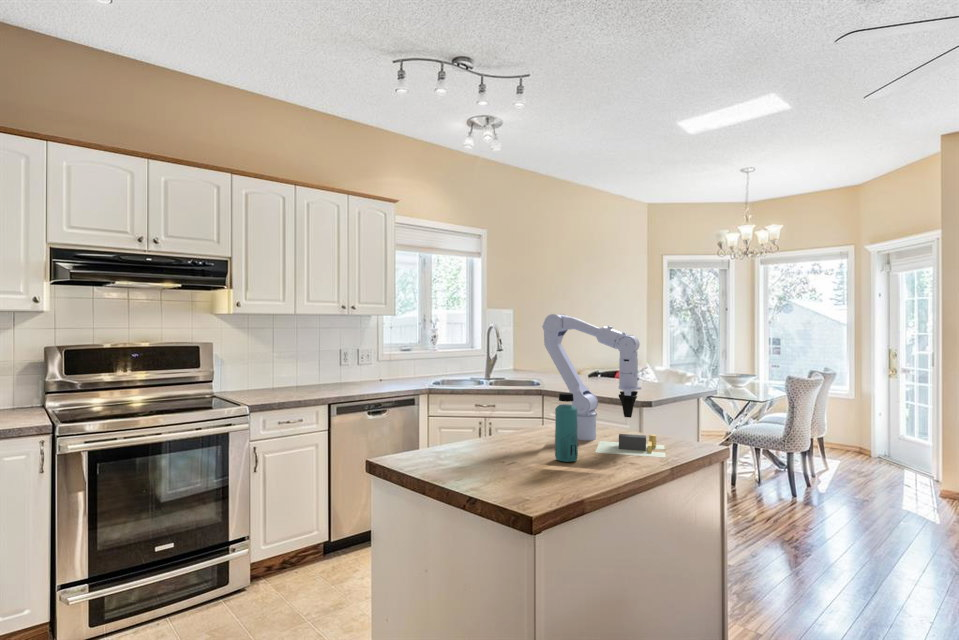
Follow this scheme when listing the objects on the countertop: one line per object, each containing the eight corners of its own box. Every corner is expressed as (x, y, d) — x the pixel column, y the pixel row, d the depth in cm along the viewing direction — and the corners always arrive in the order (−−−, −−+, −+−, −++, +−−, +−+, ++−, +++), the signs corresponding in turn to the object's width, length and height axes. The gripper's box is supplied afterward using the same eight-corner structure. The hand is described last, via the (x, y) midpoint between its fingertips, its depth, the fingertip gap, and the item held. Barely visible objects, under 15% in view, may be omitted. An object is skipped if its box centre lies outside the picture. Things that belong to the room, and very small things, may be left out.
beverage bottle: (571, 468, 152) (571, 395, 152) (550, 464, 156) (550, 393, 156) (582, 463, 157) (582, 392, 157) (561, 459, 161) (561, 390, 161)
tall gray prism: (618, 449, 170) (618, 436, 170) (619, 446, 173) (619, 433, 173) (645, 451, 168) (646, 437, 168) (645, 448, 171) (645, 435, 171)
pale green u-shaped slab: (595, 455, 166) (595, 440, 166) (599, 443, 181) (599, 430, 181) (665, 460, 160) (665, 445, 160) (664, 448, 175) (664, 434, 175)
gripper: (641, 375, 170) (640, 419, 170) (641, 371, 184) (641, 412, 184) (617, 374, 172) (617, 418, 172) (619, 370, 186) (619, 410, 186)
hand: (628, 415), depth 178 cm, fingers open, 7 cm apart
